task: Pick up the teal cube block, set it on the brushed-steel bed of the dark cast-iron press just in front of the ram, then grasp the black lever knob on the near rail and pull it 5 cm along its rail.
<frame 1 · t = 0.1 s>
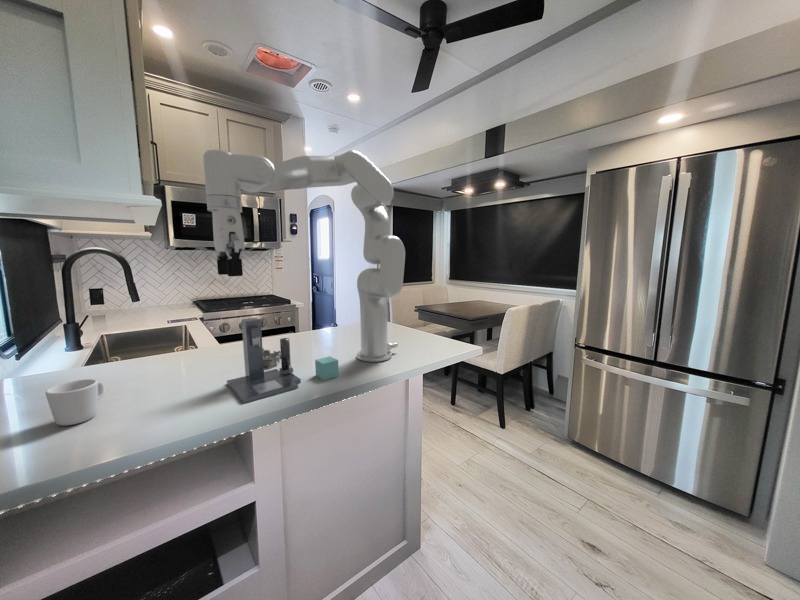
hand: (230, 275, 80), 31 cm above the table, fingers open, 9 cm apart
lever: (285, 355, 94), point 6 cm above the table, slide at 0.0 cm
teal cube block: (327, 375, 96), on the table
cup: (83, 417, 71), on the table
egg carton: (269, 363, 107), on the table
press: (261, 385, 88), on the table
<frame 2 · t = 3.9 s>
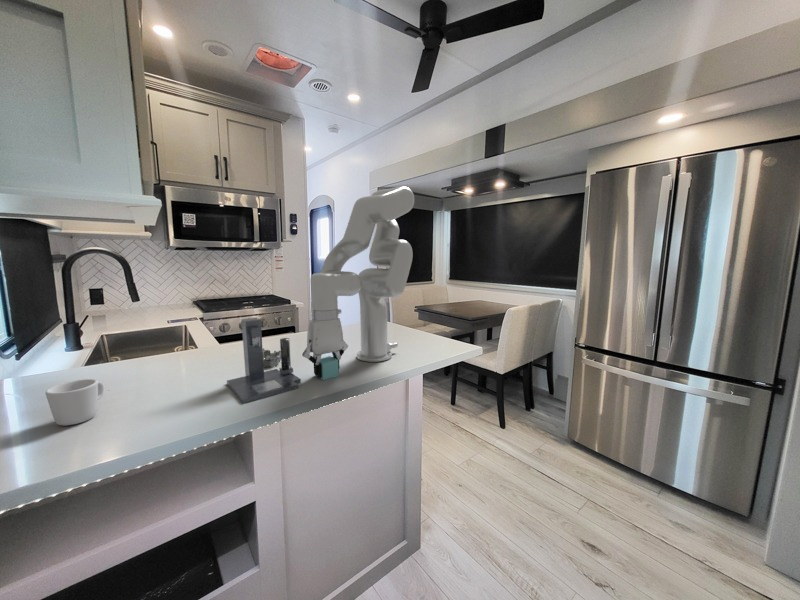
hand: (327, 373, 96), 1 cm above the table, fingers closed on teal cube block, 5 cm apart
teal cube block: (327, 375, 96), on the table, touching gripper
everything else where it was.
when the fingers open (3 cm above the table, at t = 10.8 s): teal cube block drops 1 cm, resting on press.
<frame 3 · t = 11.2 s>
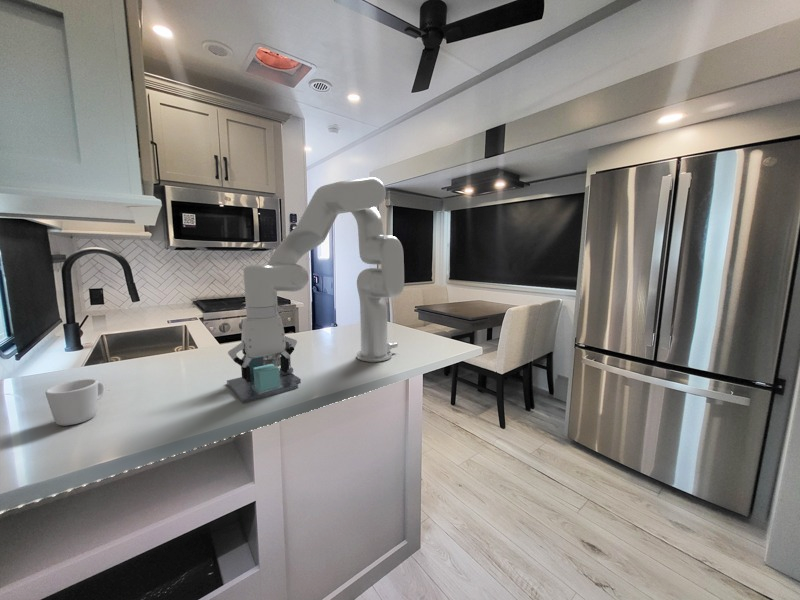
hand: (266, 375, 84), 4 cm above the table, fingers open, 9 cm apart
teal cube block: (267, 386, 84), point 1 cm above the table, touching press
everything else where it was.
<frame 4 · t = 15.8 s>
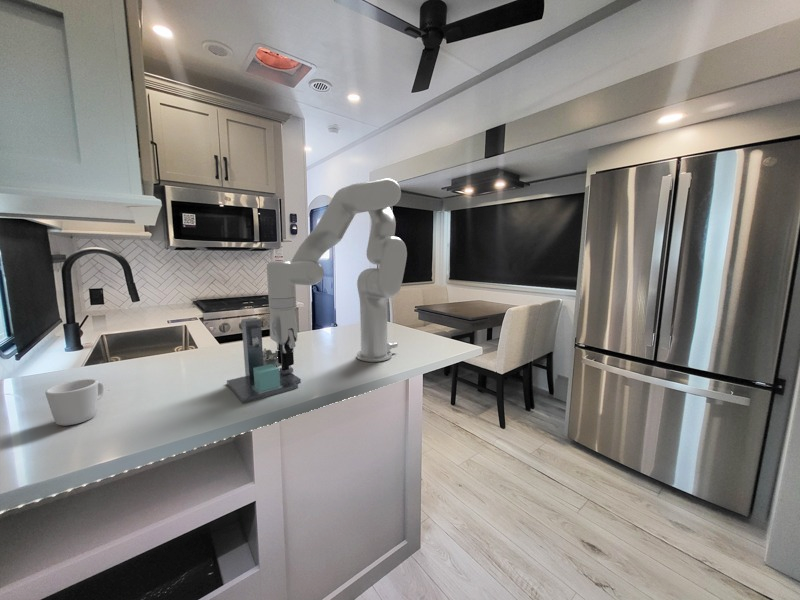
hand: (286, 363, 95), 4 cm above the table, fingers closed on lever, 2 cm apart
lever: (285, 355, 94), point 6 cm above the table, slide at 0.0 cm, touching gripper
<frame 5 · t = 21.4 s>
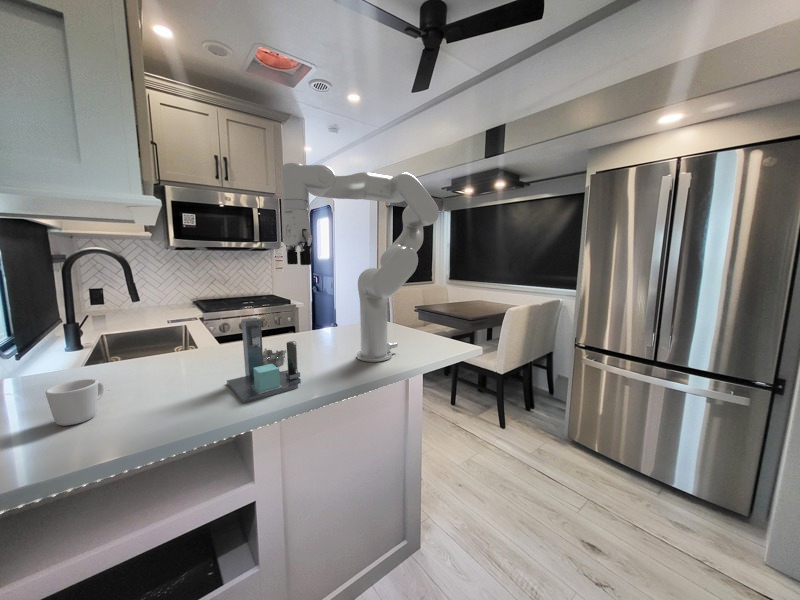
hand: (299, 264, 98), 33 cm above the table, fingers open, 9 cm apart
lever: (292, 359, 91), point 6 cm above the table, slide at 5.0 cm
at the end: teal cube block 0.0 cm from the target spot on the press, point 1.4 cm above the press's base; teal cube block tilted 0°; lever slide at 5.0 cm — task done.
